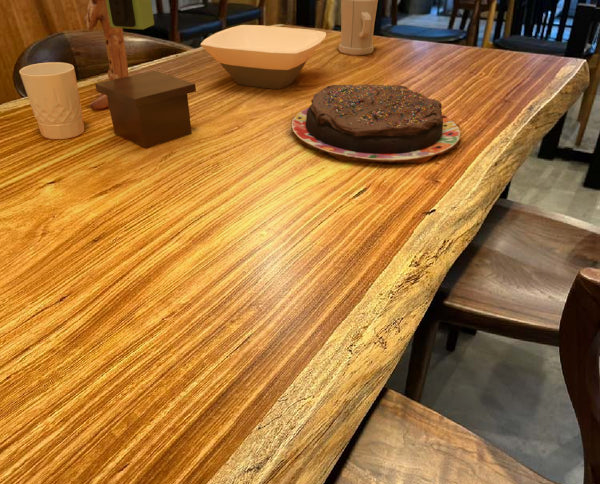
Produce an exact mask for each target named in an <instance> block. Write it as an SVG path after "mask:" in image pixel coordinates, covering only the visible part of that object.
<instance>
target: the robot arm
mask: <svg viewBox="0 0 600 484" xmlns="http://www.w3.org/2000/svg"><path fill="white" fill-rule="evenodd" d="M109 6H110V11H111V17H112V22H113V25H114V26H121V27H134V26H135V17H134V11H133V5H132V0H109Z"/></svg>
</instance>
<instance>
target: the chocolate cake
mask: <svg viewBox="0 0 600 484" xmlns="http://www.w3.org/2000/svg"><path fill="white" fill-rule="evenodd" d="M310 102H311V104H310V106H308V107H307V108H304V109H302V110H301V111H300V112H297V113H296V114H295V115H294V116H293V118H292V120H291V122H290V130H291V131H292V132H293V134H294V135H295V136H296V138H297V139H298V141H299V142H300V144H301V146H302V147H305V148H308V149H310V150H316V151H317V152H319V153H320V154H328V155H329V156H331V157H334V158H336V159H337V160H339V161H341V162H343V163H397V164H398V163H400V164H426V163H427V162H428V161H429V160H431V159H432V158H434V156H443V155H445V154H447V153H450V152H451V151H452V150H456V149H458V145H459V142H460V140H461V136H462V135H461V131H460V127H459V126H458V125H457V124H456V123H455V122H454V121H453V120H452V119H450V118H449V117H447V116H446V115H444V114H443V111H442V110H443V109H442V108H443V105H442V102H441V101H439V100H436V99H435V98H433V99H432V98H430V97H427V96H425V95H424V94H423V93H421V92H418V91H413V90H412V89H410V88H408V87H406V86H405V85H395V84H392V85H389V84H388V85H386V84H385V85H384V84H332V85H327V86H326V87H324V88H322V89H321V90H320V91H318V92H316V93H314V95H313V97H312V99H311V100H310Z"/></svg>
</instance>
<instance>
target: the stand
mask: <svg viewBox="0 0 600 484" xmlns="http://www.w3.org/2000/svg"><path fill="white" fill-rule="evenodd" d="M94 85H95V90H96V92H97V93H100V94H101V93H102V94H105V95H107V99H108V104H109V107H108V108H109V112H110V118H111V123H112V127H113V132H114V135H116V136H118V137H120V138H123V139H124V140H127V141H129V142H131V143H132V144H136V145H138V146H140V147H142V148H144V149H148V148H152V147H155V146H158V145H161V144H165V143H167V142H170V141H174V140H176V139H177V140H178V139H179V138H180V139H181V138H183V137H187V136H189V135H192V134H193V132H192V124H191V115H190V107H189V106H190V105H189V98H188V95H189V94H193V93H196V92H197V87H196V83H194V82H191V81H188V80H185V79H183V78H182V79H181V78H180V77H179V78H178V77H176V76H172V75H169V74H167V73H163V72H160V71H156V70H150V71H146V72H141V73H137V74H132V75H128V76H127V77H123V78H118V79H114V80H110V81H109V80H105V81H102V82H97V83H95V84H94Z"/></svg>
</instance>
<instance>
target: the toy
mask: <svg viewBox="0 0 600 484" xmlns="http://www.w3.org/2000/svg"><path fill="white" fill-rule="evenodd" d="M106 4H107V10H108V15H109V20H110V26H111V27H112V28H122V29H128V30H129V29H130V30H145V29H148V28H150V27H153V26H154V25H155V19H154V12H153V5H152V4H153V3H152V0H132V5H133V11H134V17H135V26H134V27H121V26H114V25H113V22H112V17H111V11H110V6H109V0H106Z"/></svg>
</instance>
